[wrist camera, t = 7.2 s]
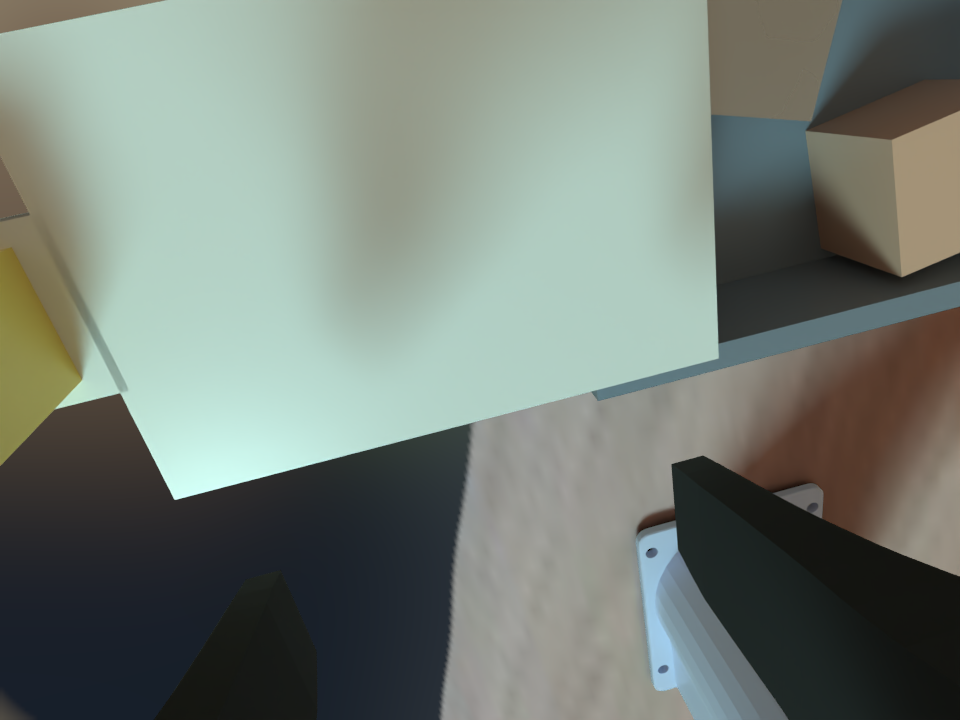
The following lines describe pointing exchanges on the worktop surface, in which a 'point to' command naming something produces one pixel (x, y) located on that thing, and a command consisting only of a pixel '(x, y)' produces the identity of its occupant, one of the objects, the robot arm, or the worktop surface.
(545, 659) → the worktop surface
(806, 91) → the brown cube
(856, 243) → the tan block
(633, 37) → the lid
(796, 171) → the tub
